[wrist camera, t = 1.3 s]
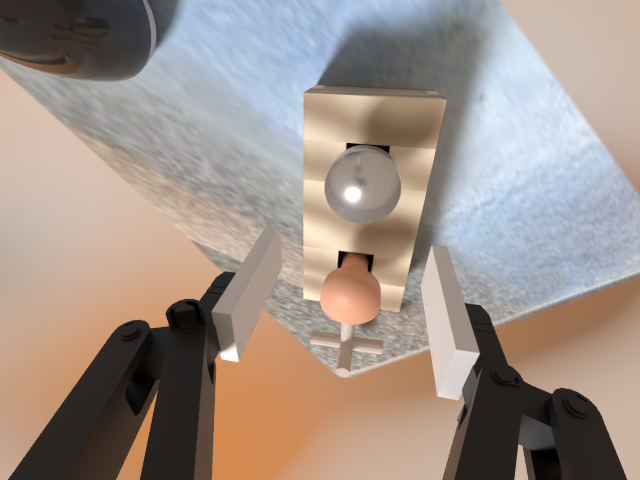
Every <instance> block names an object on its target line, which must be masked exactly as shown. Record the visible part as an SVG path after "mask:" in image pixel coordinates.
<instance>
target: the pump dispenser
mask: <svg viewBox="0 0 640 480" xmlns="http://www.w3.org/2000/svg"><path fill="white" fill-rule="evenodd" d="M155 45H156V25H155V20H154V16H153V13H152V11H151V8H150V6H149V3H148V1H147V0H0V56H1V57H3V58H6V59H8V60H10V61H13V62H15V63H18V64H20V65H23V66H26V67H29V68H32V69H35V70H38V71H42V72H45V73H49V74H53V75H57V76H61V77H65V78H71V79H76V80H84V81H96V82H117V81H124V80H128V79H130V78H132V77H134V76H136V75H137V74H138V73H140V72H141V70H142V69H143V68H144V66H145V65H146V64H147V63H148V62H149V60H150V58H151V57H152V55H153V52H154V49H155Z"/></svg>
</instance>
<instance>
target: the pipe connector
mask: <svg viewBox="0 0 640 480" xmlns="http://www.w3.org/2000/svg"><path fill="white" fill-rule="evenodd" d="M354 329H355V325H350V324H344V323H342V324H341V335H340V334H333V333H326V332H319V331H312V334H311V344H317V345H324V346H331V347H337V348H339V352H338V359H337V366H336V374H337V375H338V376H340V377H348V376H349V375H350V367H351V357H352V350H357V351H363V352H370V353H376V354H382V351H383V341H380V340H374V339H367V338H360V337H354Z"/></svg>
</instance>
